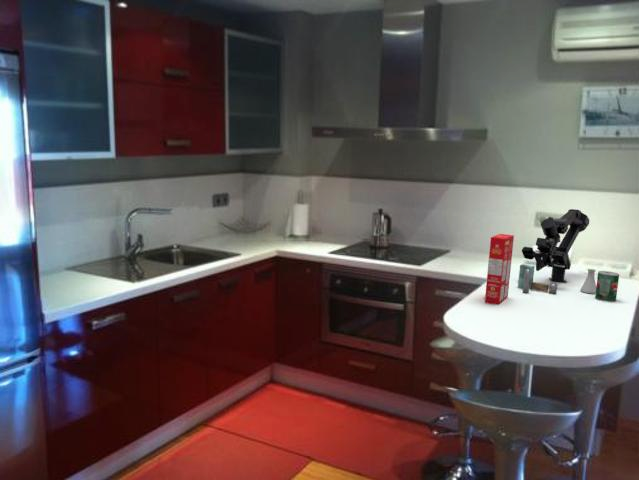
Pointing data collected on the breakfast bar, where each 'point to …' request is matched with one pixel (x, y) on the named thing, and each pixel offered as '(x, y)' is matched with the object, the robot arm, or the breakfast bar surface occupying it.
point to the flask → (589, 283)
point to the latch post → (526, 281)
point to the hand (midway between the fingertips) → (536, 270)
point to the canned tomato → (607, 286)
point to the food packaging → (499, 268)
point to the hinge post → (552, 288)
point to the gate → (532, 284)
